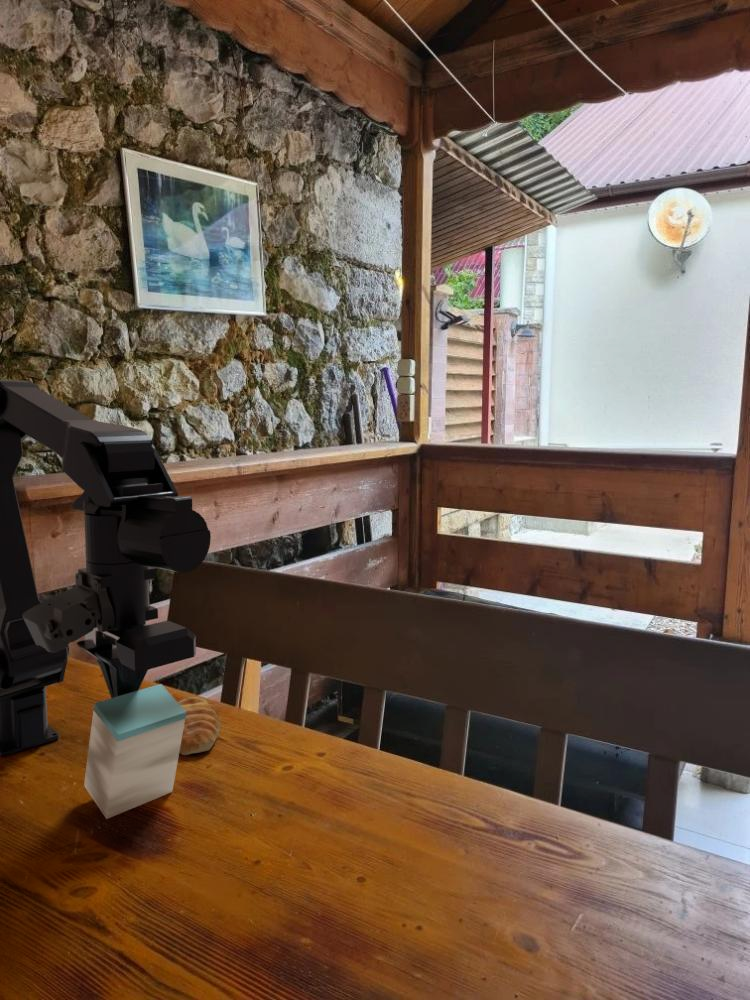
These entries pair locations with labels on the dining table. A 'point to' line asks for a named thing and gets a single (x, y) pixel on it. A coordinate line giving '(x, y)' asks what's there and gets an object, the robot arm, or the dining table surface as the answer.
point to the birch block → (133, 749)
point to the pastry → (199, 726)
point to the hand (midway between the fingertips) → (122, 710)
